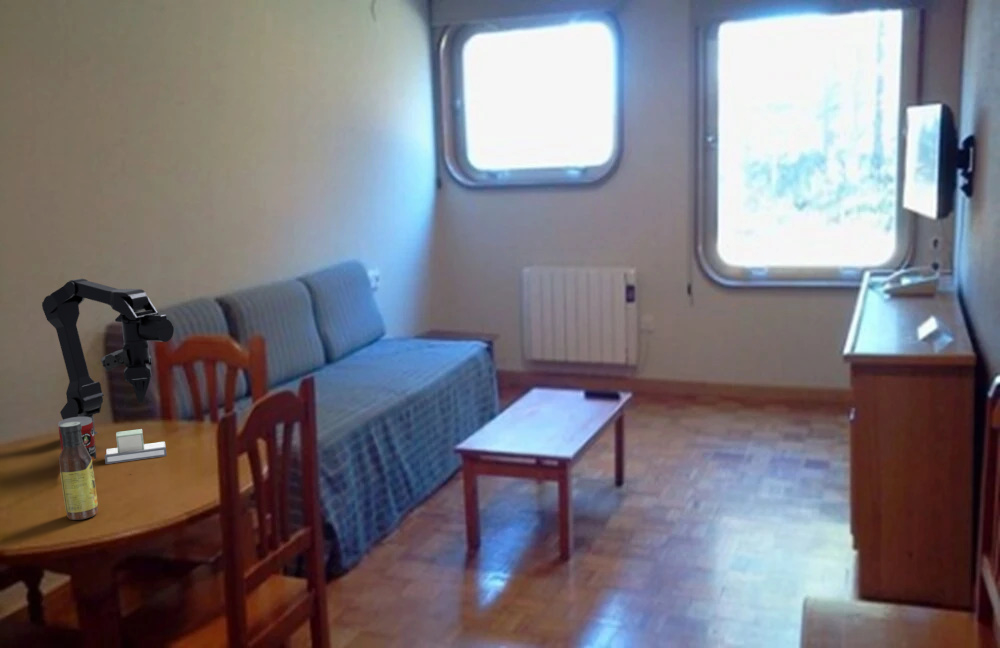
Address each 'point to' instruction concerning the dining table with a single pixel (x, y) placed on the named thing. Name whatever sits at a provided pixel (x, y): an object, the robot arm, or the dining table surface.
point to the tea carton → (130, 440)
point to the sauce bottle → (77, 474)
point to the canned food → (83, 433)
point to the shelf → (136, 453)
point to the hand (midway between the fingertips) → (141, 398)
